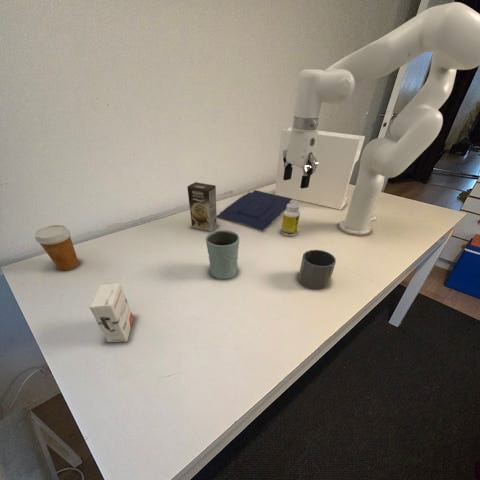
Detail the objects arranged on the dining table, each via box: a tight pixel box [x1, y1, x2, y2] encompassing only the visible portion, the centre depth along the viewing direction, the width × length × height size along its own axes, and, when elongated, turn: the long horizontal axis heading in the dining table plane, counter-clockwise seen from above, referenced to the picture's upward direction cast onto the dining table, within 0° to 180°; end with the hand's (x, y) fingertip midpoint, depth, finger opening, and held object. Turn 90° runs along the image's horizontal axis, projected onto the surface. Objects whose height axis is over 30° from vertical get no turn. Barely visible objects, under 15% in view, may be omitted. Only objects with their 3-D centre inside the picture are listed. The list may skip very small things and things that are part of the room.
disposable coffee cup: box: [34, 224, 80, 271], centre depth 83 cm, size 10×10×12 cm
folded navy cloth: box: [217, 189, 293, 232], centre depth 119 cm, size 24×30×4 cm
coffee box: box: [187, 181, 218, 233], centre depth 104 cm, size 9×6×16 cm
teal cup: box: [205, 229, 240, 280], centre depth 82 cm, size 10×10×12 cm
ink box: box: [89, 282, 134, 343], centre depth 63 cm, size 9×5×12 cm, turn 5°
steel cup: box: [298, 249, 337, 290], centre depth 81 cm, size 10×10×8 cm
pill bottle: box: [281, 202, 301, 237], centre depth 103 cm, size 6×6×11 cm
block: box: [274, 126, 366, 210], centre depth 124 cm, size 35×8×28 cm, turn 57°
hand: (295, 183), depth 93 cm, fingers open, 9 cm apart
